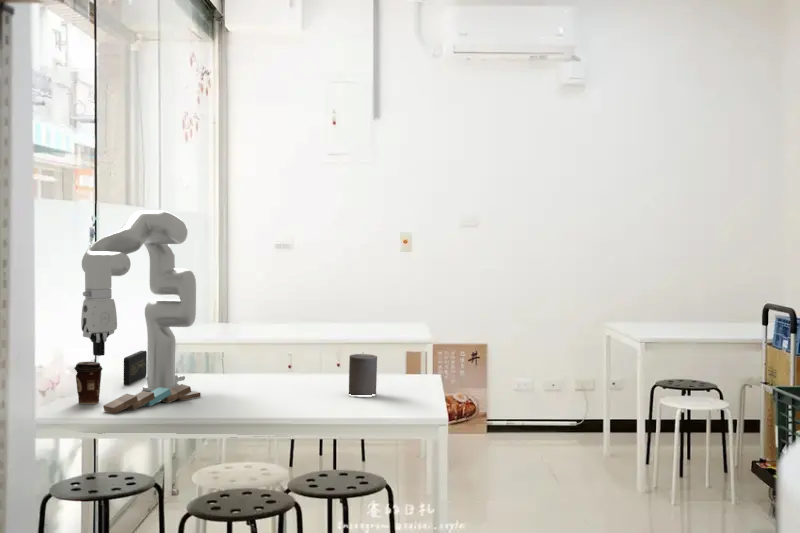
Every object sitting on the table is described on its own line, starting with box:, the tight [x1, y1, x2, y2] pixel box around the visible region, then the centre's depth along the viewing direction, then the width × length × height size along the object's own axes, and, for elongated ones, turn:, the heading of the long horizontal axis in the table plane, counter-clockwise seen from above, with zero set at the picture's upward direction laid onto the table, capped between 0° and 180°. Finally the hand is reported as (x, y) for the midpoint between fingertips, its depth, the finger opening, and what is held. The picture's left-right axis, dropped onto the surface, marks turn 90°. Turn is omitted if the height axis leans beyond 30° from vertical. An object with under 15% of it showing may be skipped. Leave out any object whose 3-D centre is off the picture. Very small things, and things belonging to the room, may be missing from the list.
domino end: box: [175, 390, 202, 402], centre depth 299 cm, size 2×5×9 cm
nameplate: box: [123, 350, 148, 386], centre depth 331 cm, size 21×2×10 cm, turn 179°
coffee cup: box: [73, 361, 103, 405], centre depth 288 cm, size 9×8×13 cm
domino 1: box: [124, 390, 155, 411], centre depth 282 cm, size 2×5×9 cm
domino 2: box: [143, 387, 171, 407], centre depth 288 cm, size 2×5×9 cm
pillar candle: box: [348, 353, 378, 395], centre depth 308 cm, size 10×10×15 cm
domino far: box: [102, 393, 138, 415], centre depth 276 cm, size 2×5×9 cm
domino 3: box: [161, 383, 192, 404], centre depth 294 cm, size 2×5×9 cm
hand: (98, 355), depth 269 cm, fingers closed
